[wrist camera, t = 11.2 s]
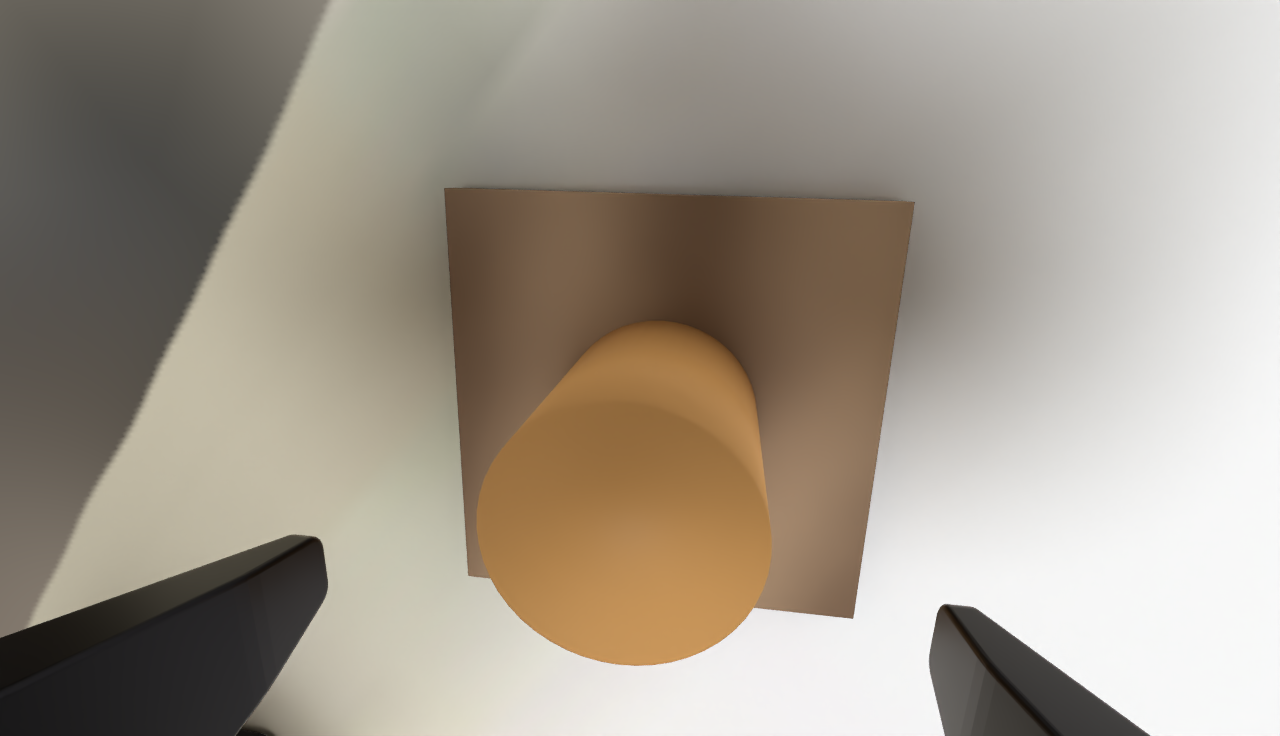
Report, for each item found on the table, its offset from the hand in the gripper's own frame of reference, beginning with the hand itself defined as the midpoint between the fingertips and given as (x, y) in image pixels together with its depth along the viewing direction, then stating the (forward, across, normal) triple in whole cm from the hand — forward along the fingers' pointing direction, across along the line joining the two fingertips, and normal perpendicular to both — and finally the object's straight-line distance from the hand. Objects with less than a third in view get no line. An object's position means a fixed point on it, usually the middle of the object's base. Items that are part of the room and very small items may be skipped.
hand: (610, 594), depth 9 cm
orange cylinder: (+8, 0, 0) cm, 8 cm away
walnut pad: (+8, 0, 0) cm, 9 cm away
